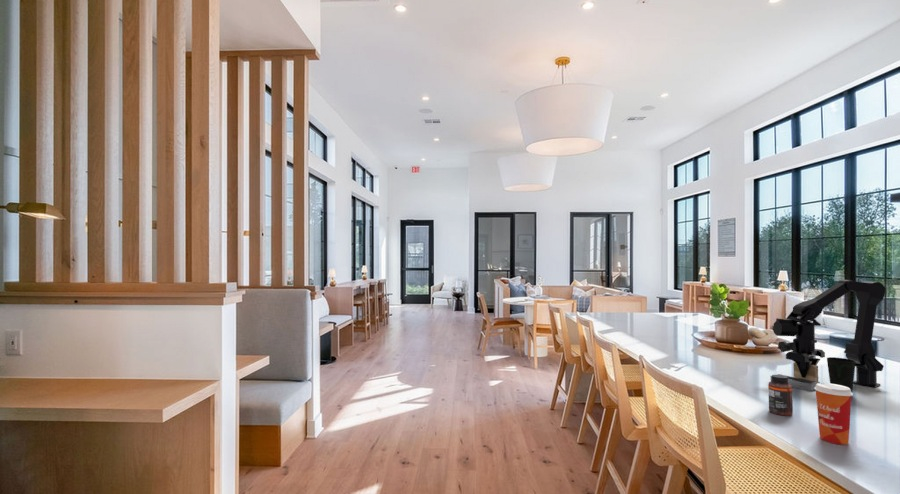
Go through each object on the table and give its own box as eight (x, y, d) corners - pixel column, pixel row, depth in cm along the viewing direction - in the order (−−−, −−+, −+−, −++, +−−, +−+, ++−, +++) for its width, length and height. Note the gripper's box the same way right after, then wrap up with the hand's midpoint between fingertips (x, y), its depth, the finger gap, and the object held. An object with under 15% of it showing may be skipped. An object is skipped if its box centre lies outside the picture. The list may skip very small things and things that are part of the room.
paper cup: (807, 434, 118) (806, 382, 118) (833, 434, 118) (832, 382, 119) (835, 447, 110) (834, 391, 110) (863, 446, 111) (862, 390, 111)
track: (779, 380, 173) (779, 373, 173) (819, 388, 162) (819, 381, 162) (770, 382, 170) (770, 376, 170) (811, 391, 158) (811, 384, 159)
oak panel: (796, 379, 174) (796, 362, 175) (818, 384, 168) (818, 365, 169) (793, 380, 173) (793, 362, 173) (815, 384, 167) (815, 366, 167)
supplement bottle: (788, 411, 137) (787, 374, 137) (796, 417, 131) (795, 379, 132) (765, 408, 139) (765, 372, 139) (772, 414, 133) (772, 377, 133)
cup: (844, 390, 159) (844, 357, 160) (862, 397, 152) (861, 362, 152) (821, 389, 160) (821, 356, 161) (838, 396, 153) (837, 361, 153)
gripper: (791, 331, 183) (792, 369, 182) (770, 335, 173) (770, 375, 173) (825, 336, 173) (825, 375, 173) (804, 339, 164) (804, 381, 163)
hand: (805, 376), depth 171 cm, fingers open, 4 cm apart
